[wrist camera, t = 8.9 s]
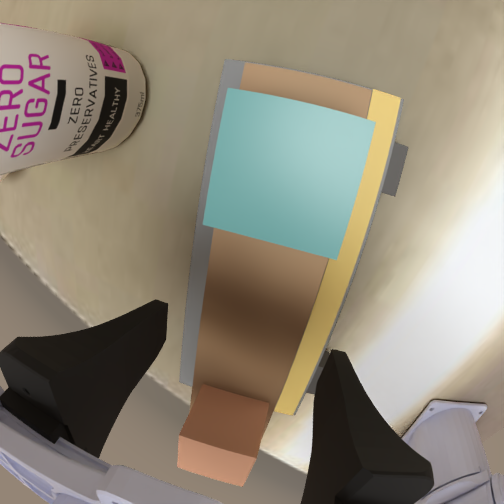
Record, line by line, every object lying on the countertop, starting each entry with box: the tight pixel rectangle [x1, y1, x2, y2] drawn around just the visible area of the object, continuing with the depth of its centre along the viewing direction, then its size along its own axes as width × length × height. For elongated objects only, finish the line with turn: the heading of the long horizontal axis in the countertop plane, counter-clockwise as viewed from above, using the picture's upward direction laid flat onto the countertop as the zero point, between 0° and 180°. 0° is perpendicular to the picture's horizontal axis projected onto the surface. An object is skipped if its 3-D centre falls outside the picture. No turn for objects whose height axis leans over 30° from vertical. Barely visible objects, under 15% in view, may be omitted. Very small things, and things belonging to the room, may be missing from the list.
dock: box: [179, 59, 408, 415], centre depth 21 cm, size 24×11×3 cm, turn 169°
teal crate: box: [203, 88, 376, 260], centre depth 10 cm, size 4×4×4 cm
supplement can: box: [0, 23, 146, 175], centre depth 13 cm, size 8×8×15 cm
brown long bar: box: [190, 63, 372, 439], centre depth 17 cm, size 22×5×5 cm, turn 169°
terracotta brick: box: [177, 384, 269, 487], centre depth 16 cm, size 4×4×4 cm
